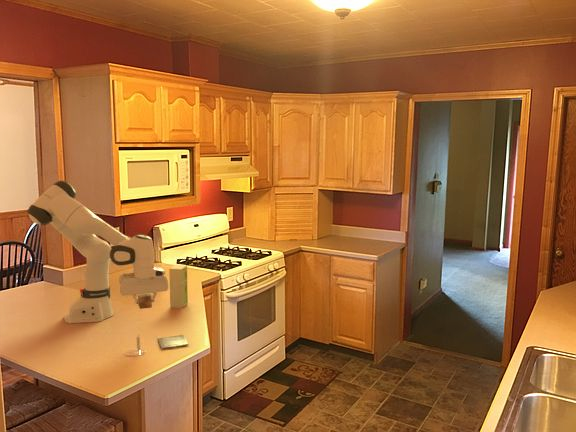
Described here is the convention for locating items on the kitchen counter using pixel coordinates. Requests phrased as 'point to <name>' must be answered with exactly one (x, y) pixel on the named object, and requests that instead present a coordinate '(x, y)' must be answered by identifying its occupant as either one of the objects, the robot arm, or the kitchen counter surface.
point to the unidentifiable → (135, 352)
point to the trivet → (172, 342)
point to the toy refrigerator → (178, 286)
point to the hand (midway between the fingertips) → (145, 302)
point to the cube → (145, 301)
